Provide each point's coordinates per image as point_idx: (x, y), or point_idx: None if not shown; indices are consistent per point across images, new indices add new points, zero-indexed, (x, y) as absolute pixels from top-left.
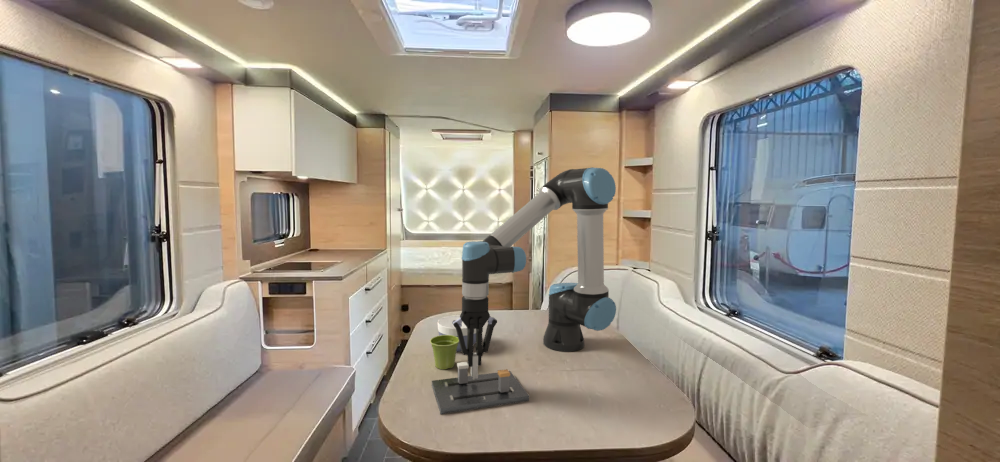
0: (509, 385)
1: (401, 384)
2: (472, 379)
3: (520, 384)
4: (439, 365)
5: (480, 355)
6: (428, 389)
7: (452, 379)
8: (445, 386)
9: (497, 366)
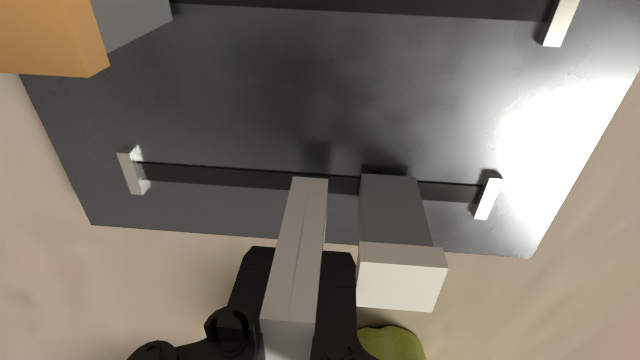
0: None
1: (636, 285)
2: None
3: None
4: (417, 348)
5: (233, 317)
6: None
7: None
8: (497, 184)
9: (163, 288)
